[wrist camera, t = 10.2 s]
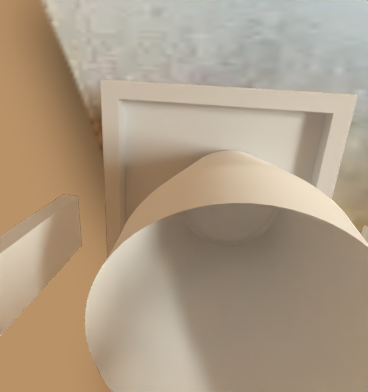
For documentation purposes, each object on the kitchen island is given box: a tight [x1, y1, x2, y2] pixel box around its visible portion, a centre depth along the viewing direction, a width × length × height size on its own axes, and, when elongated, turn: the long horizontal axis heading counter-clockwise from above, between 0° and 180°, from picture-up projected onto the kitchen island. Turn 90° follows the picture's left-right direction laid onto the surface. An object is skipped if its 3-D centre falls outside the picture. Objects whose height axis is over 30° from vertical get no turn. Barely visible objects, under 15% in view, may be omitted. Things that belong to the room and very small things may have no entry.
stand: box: [100, 79, 358, 257], centre depth 23 cm, size 14×14×10 cm
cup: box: [85, 150, 368, 392], centre depth 13 cm, size 9×9×12 cm
